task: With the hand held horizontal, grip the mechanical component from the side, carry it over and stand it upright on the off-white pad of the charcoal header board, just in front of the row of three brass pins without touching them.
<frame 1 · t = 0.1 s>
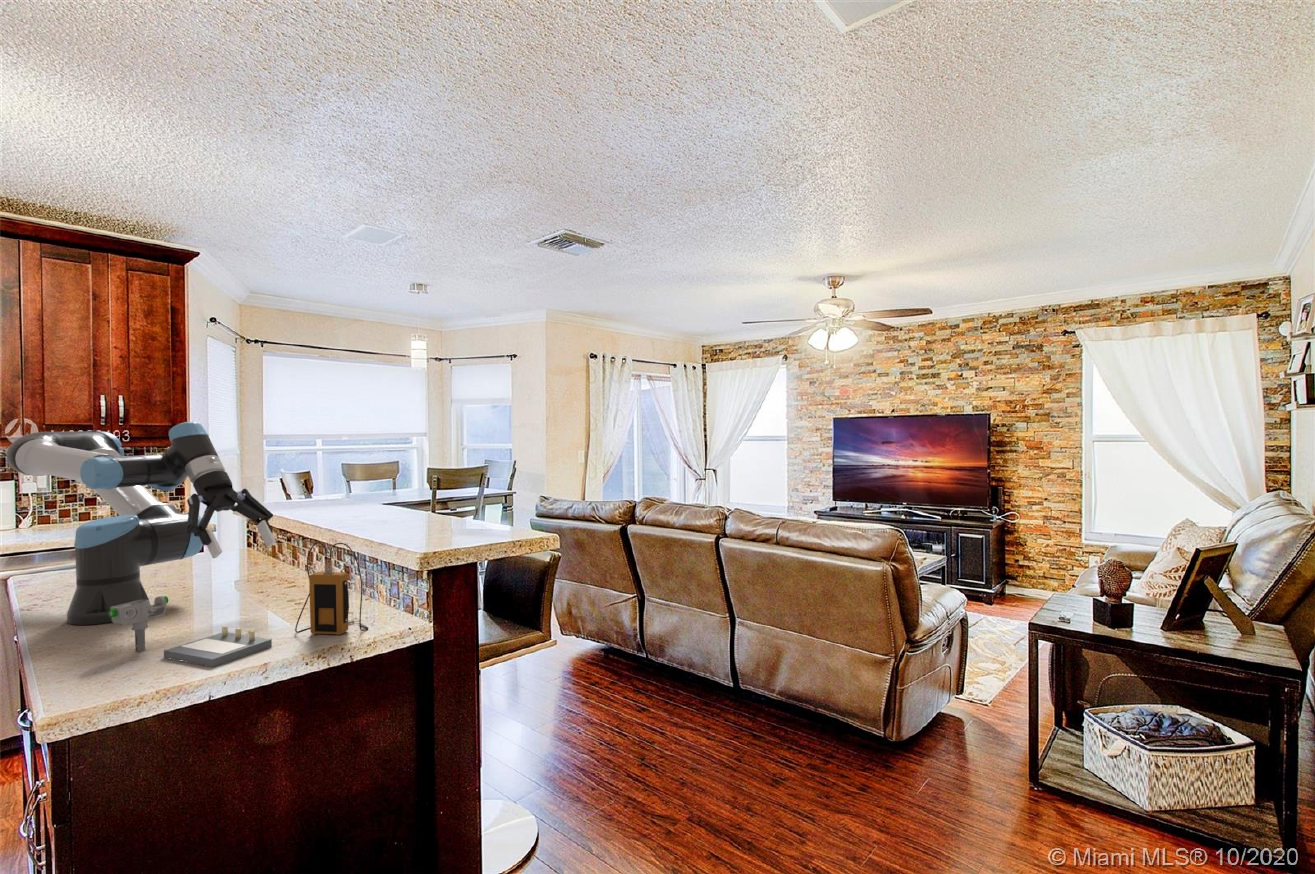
hand: (245, 549, 156), 15 cm above the countertop, tool tilted 35°, fingers open, 13 cm apart
mechanical component: (140, 651, 130), on the countertop
multimeter: (339, 628, 144), on the countertop
header board: (219, 652, 129), on the countertop
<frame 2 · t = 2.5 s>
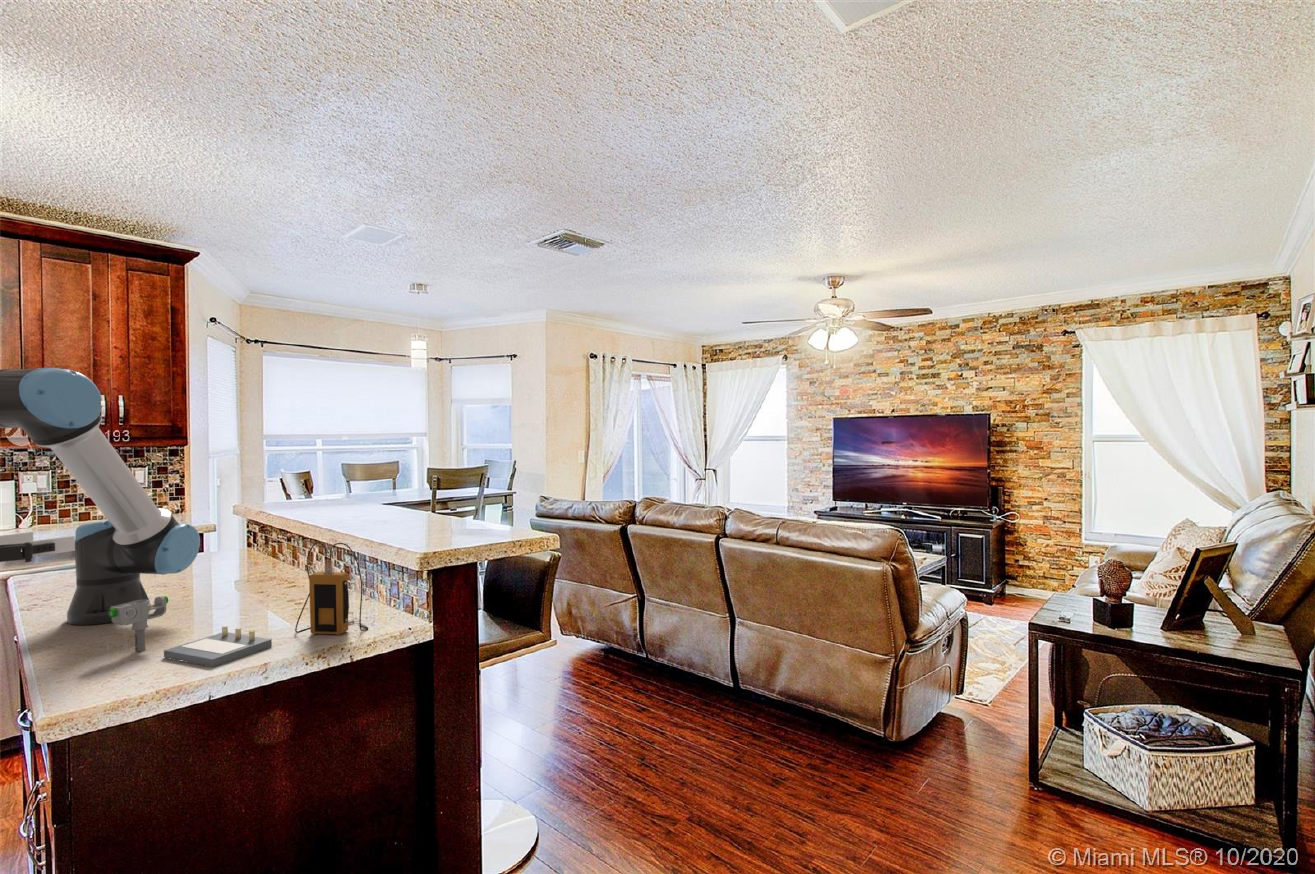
hand: (52, 541, 122), 24 cm above the countertop, tool horizontal, fingers open, 13 cm apart
nothing on the countertop moved.
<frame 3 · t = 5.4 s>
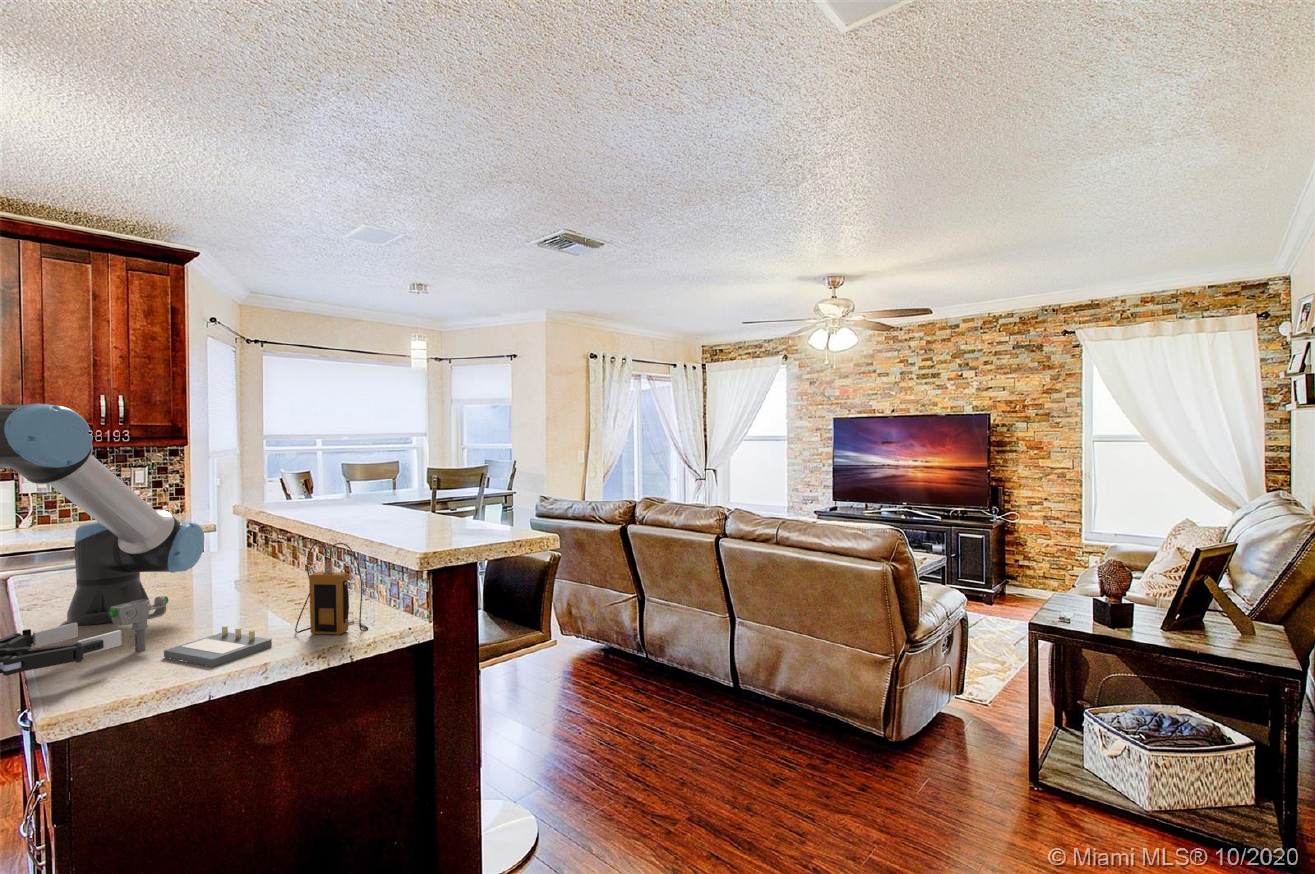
hand: (98, 633, 123), 6 cm above the countertop, tool horizontal, fingers open, 13 cm apart
nothing on the countertop moved.
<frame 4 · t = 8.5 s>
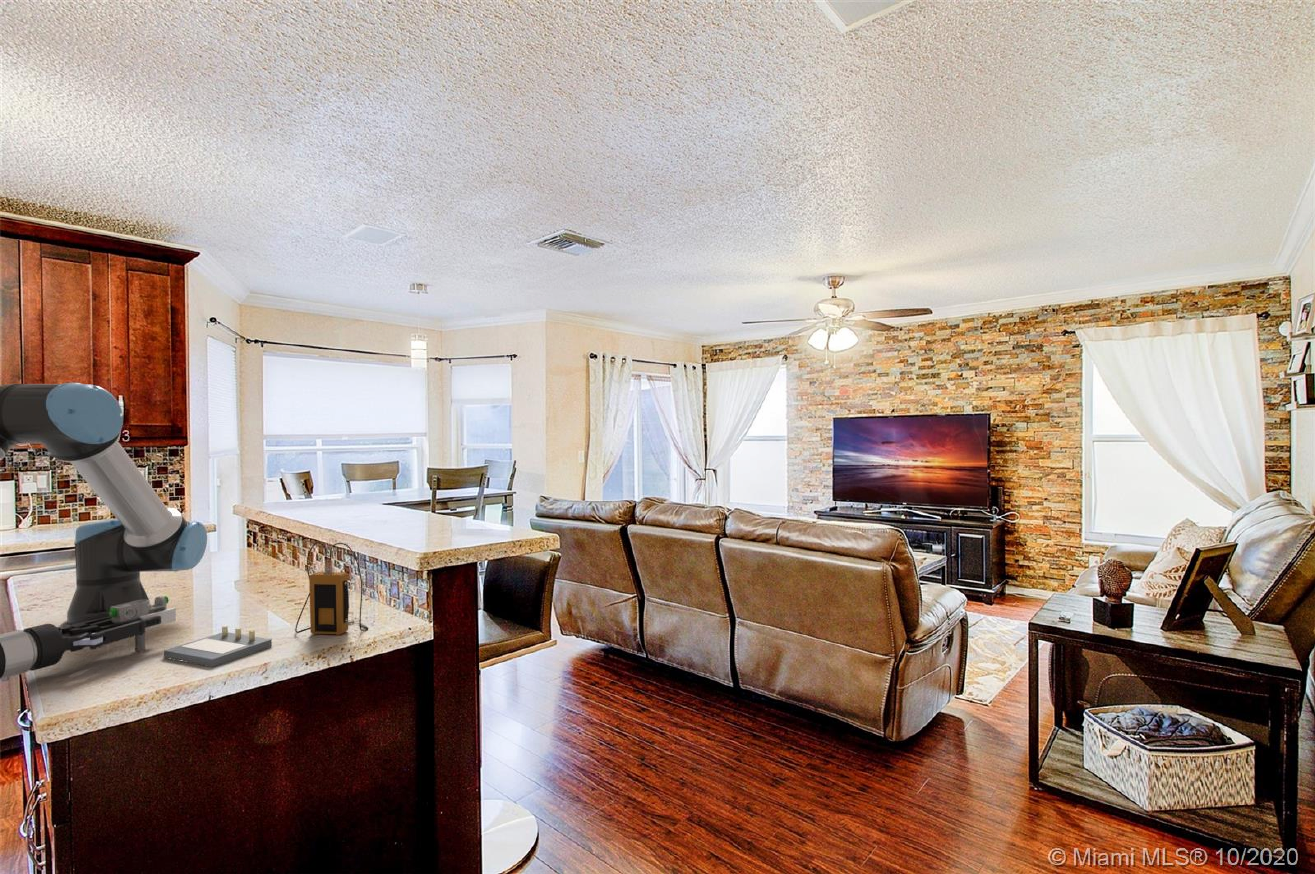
hand: (168, 613, 135), 6 cm above the countertop, tool horizontal, fingers closed on mechanical component, 3 cm apart
mechanical component: (140, 651, 130), on the countertop, touching gripper
everything else where it was.
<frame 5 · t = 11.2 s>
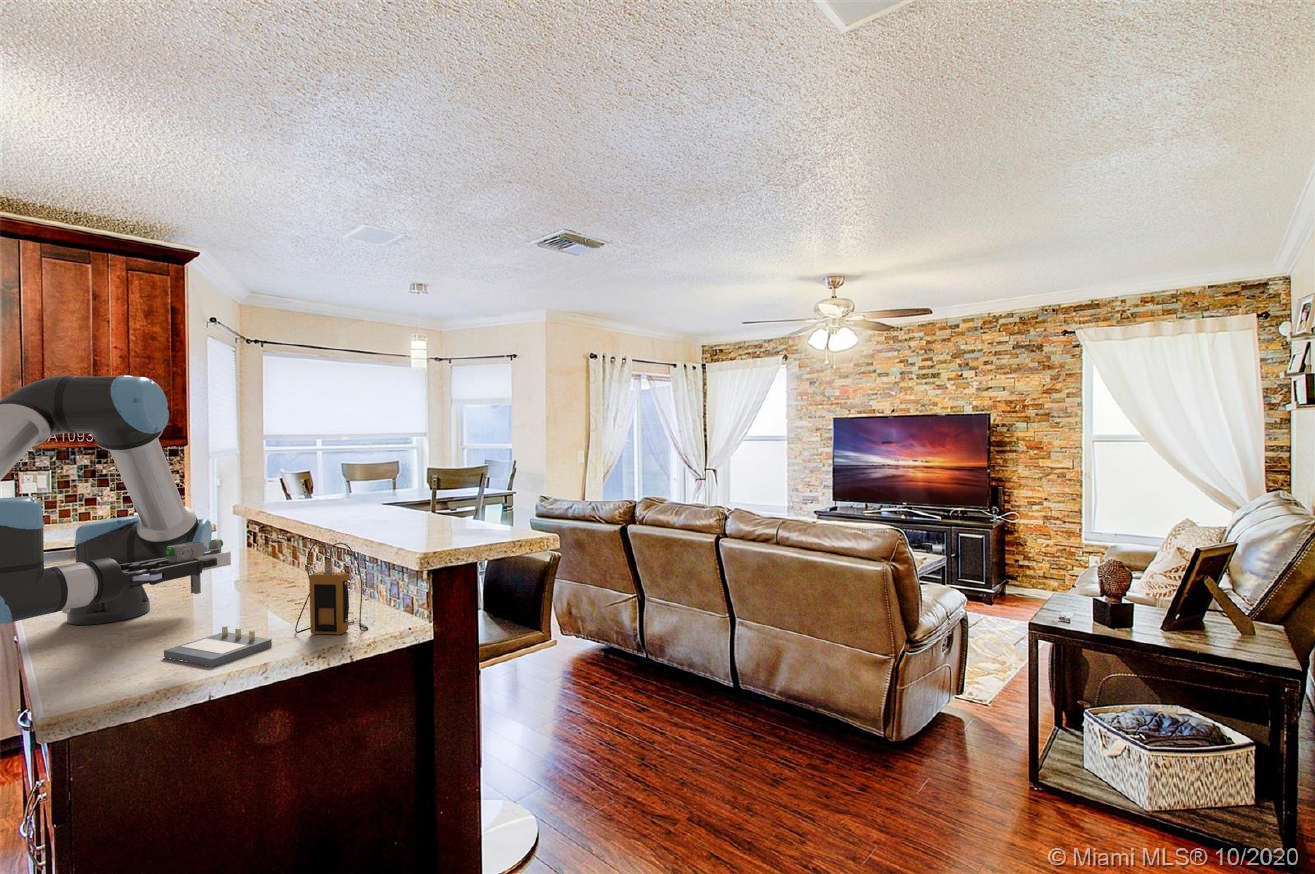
hand: (223, 557, 132), 18 cm above the countertop, tool horizontal, fingers closed on mechanical component, 3 cm apart
mechanical component: (195, 594, 127), point 12 cm above the countertop, touching gripper
everything else where it was.
when the fingers open (8 cm above the countertop, at t = 13.9 s): mechanical component stays where it is, resting on header board.
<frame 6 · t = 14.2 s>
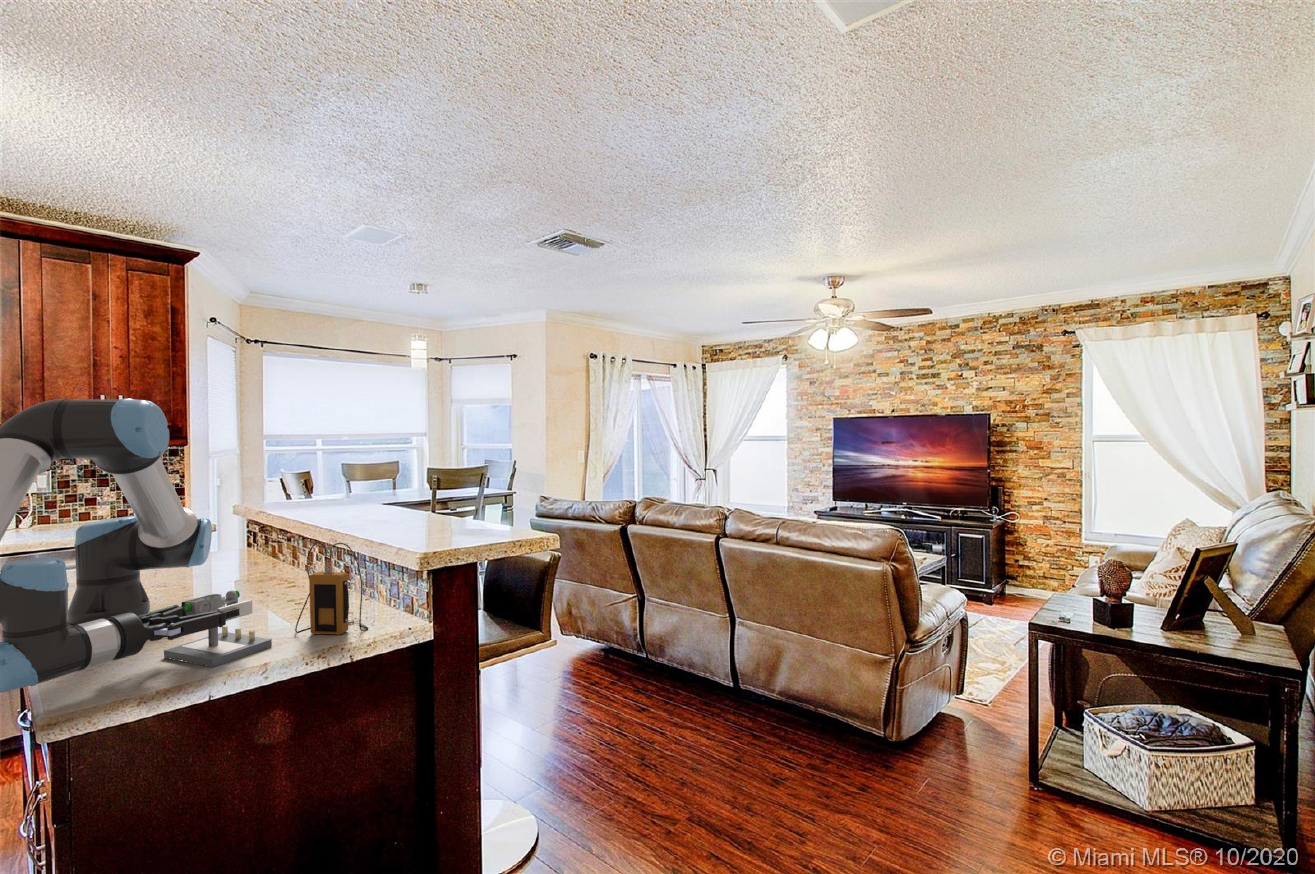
hand: (237, 604, 132), 8 cm above the countertop, tool horizontal, fingers open, 7 cm apart
mechanical component: (213, 646, 128), point 1 cm above the countertop, touching header board
everything else where it was.
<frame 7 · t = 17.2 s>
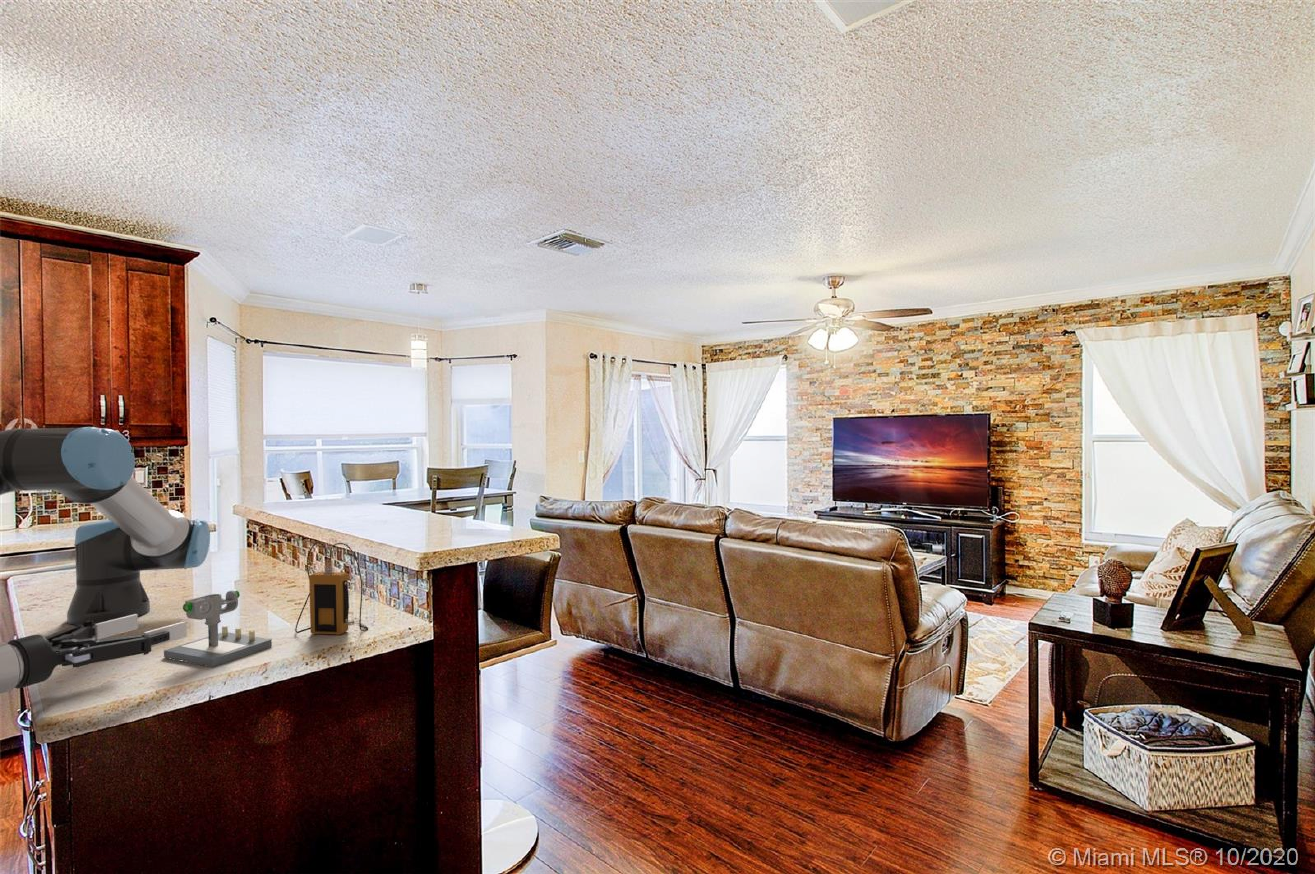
hand: (160, 625, 119), 9 cm above the countertop, tool horizontal, fingers open, 13 cm apart
nothing on the countertop moved.
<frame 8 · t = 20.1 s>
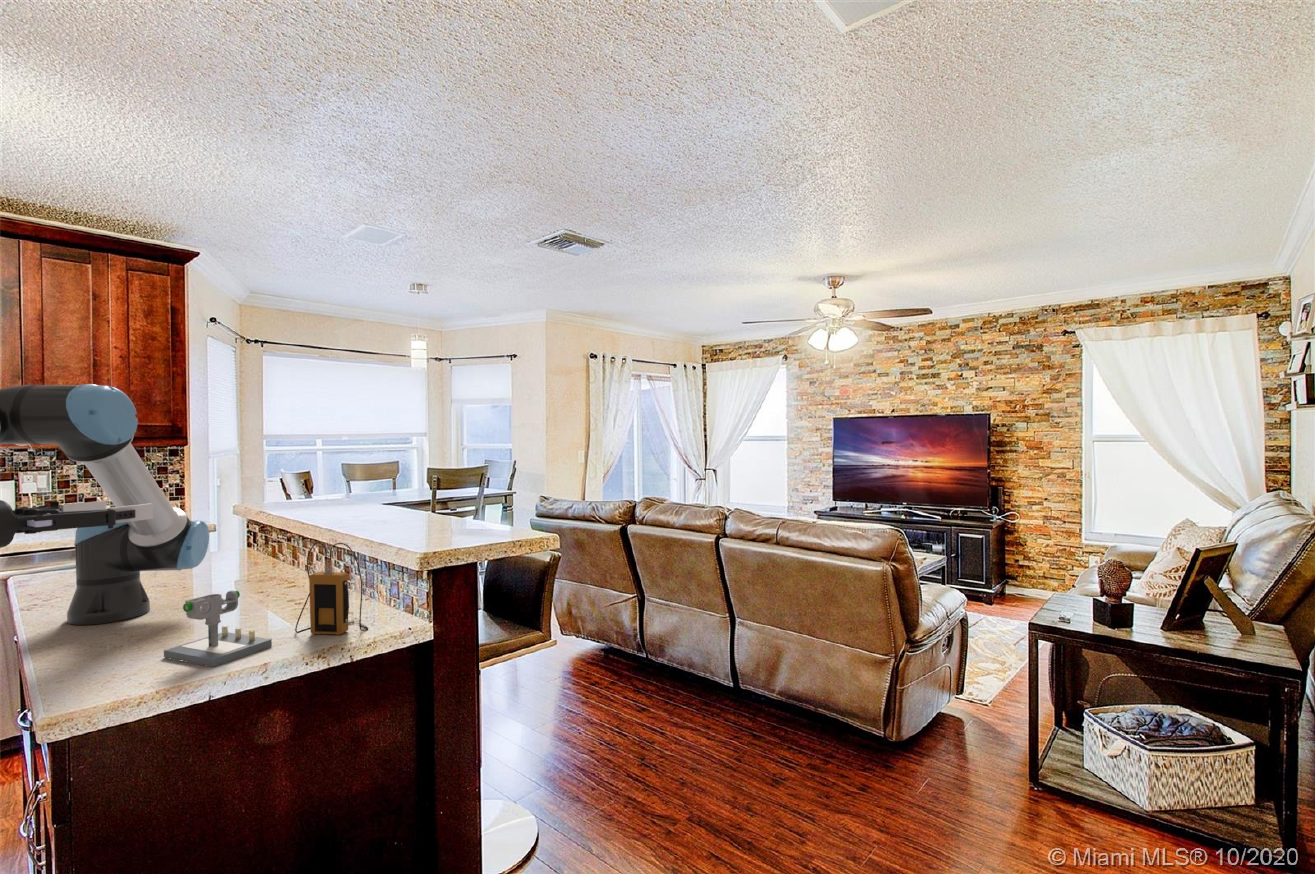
hand: (128, 509, 118), 30 cm above the countertop, tool horizontal, fingers open, 13 cm apart
nothing on the countertop moved.
at the end: mechanical component inside the target area on the header board (0.4 cm from its centre), point 1.4 cm above the header board's base; mechanical component tilted 0°; the gripper is holding nothing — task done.
